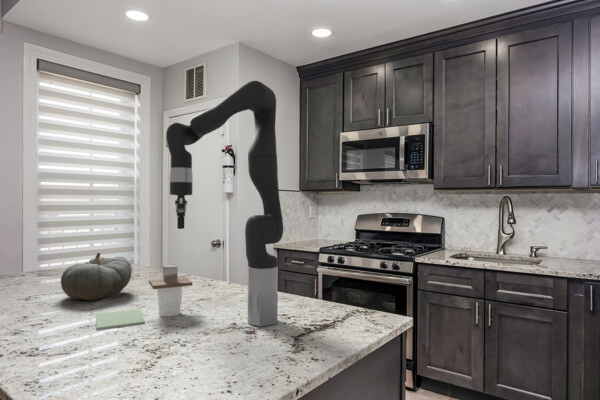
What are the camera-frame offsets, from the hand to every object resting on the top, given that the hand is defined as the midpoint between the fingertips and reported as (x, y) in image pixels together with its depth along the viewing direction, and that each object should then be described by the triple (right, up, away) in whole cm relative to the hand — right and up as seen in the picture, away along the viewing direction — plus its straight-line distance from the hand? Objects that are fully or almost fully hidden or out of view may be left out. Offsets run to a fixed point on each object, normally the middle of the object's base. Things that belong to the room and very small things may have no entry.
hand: (180, 228), depth 132 cm
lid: (-2, -18, -6) cm, 19 cm away
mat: (-16, -28, -12) cm, 34 cm away
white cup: (-2, -28, -6) cm, 29 cm away
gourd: (-38, -28, +17) cm, 50 cm away
